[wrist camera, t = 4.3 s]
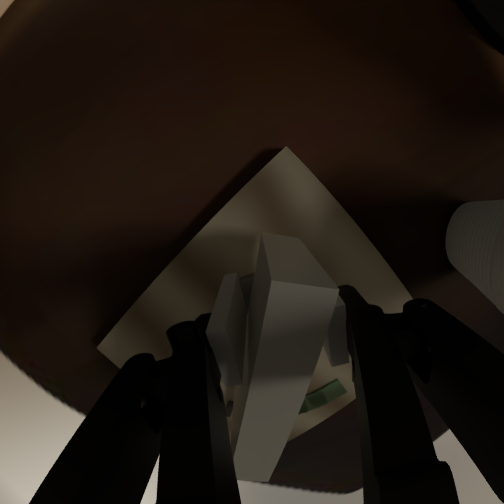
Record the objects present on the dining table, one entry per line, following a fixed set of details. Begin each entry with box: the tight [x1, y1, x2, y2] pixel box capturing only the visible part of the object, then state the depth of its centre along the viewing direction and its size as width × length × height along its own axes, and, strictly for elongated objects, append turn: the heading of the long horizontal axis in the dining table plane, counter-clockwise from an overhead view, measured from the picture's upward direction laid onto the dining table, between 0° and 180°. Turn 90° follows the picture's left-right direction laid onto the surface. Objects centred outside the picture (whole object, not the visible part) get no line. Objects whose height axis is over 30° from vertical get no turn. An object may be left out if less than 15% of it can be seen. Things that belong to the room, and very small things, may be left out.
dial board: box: [97, 146, 412, 443], centre depth 21 cm, size 22×20×1 cm
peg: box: [231, 232, 339, 482], centre depth 15 cm, size 15×6×10 cm, turn 171°
